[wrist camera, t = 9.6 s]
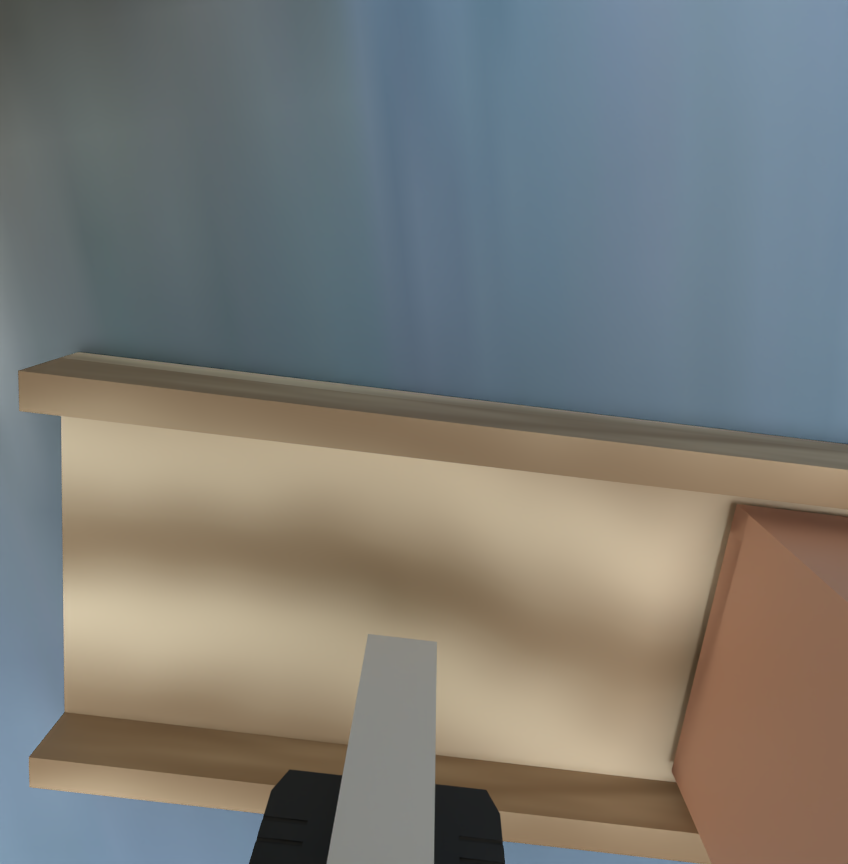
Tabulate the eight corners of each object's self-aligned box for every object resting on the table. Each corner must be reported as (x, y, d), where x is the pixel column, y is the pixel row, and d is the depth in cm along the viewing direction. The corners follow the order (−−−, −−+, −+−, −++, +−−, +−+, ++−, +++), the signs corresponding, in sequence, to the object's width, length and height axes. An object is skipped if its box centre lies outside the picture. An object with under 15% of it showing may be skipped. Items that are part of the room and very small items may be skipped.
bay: (78, 352, 20) (-144, 421, 13) (1130, 478, 21) (1546, 621, 13) (80, 719, 23) (-98, 956, 16) (995, 824, 24) (1265, 1107, 16)
